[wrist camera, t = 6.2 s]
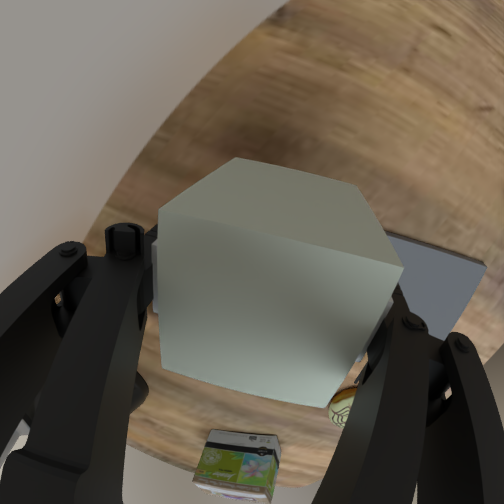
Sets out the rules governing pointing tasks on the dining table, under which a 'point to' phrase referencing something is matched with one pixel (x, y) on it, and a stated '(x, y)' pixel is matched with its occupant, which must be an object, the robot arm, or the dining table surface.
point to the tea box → (239, 466)
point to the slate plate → (436, 282)
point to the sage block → (270, 281)
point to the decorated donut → (341, 407)
